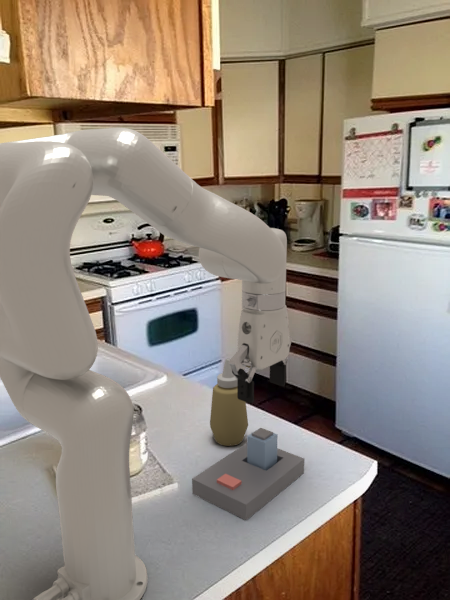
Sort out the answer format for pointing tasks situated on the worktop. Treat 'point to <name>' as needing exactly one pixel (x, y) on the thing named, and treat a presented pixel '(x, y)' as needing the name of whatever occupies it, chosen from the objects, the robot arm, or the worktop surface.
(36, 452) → the worktop surface
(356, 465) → the worktop surface
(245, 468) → the power strip
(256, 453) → the plug
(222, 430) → the squeeze bottle
